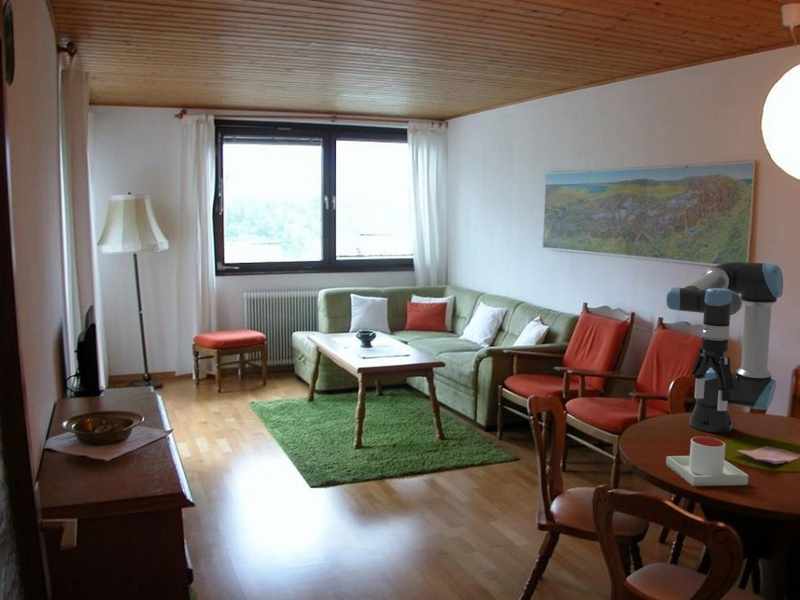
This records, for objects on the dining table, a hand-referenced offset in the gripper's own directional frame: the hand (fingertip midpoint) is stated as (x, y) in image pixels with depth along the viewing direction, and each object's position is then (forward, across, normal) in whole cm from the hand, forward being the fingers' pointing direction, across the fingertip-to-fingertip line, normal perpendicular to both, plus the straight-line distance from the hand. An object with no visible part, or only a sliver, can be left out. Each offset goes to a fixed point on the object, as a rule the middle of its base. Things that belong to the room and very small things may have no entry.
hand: (710, 404), depth 224 cm
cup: (+22, +1, 0) cm, 22 cm away
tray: (+23, +1, 0) cm, 23 cm away
